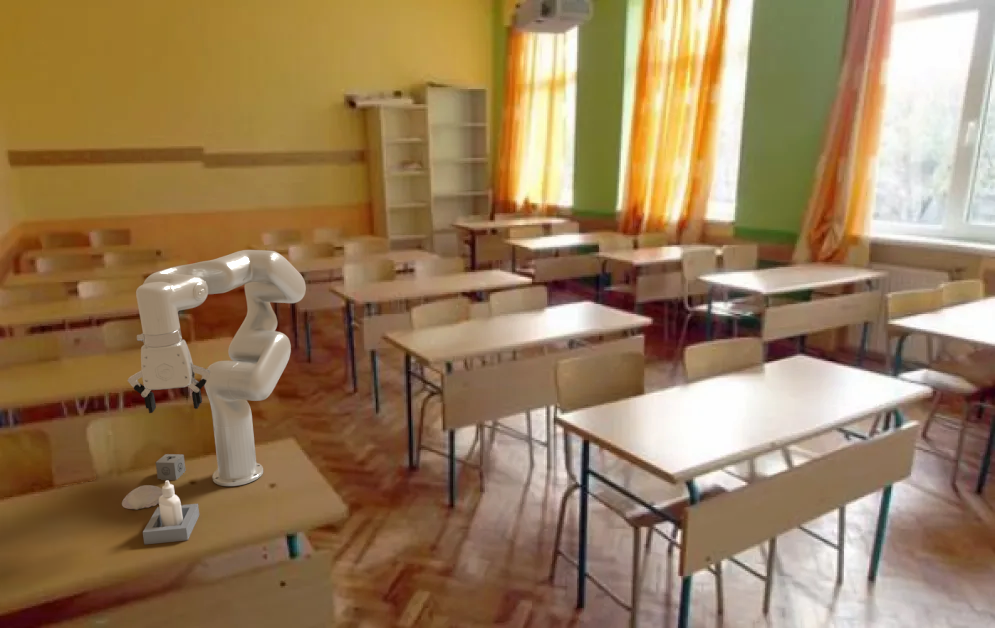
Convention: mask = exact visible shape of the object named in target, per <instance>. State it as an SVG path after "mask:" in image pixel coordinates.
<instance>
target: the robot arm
mask: <svg viewBox="0 0 995 628" xmlns="http://www.w3.org/2000/svg"><path fill="white" fill-rule="evenodd" d="M241 286H244V295H245V299H246V300H245V301H246V306H247V312H246V316H245V318H244V320H243V321H242V324H241V325H240V327H239V328H238V330H237V331H236V333H235V334H234V337H233V338H232V339H231V341H230V344H229V346H228V349H227V350H228V357H229V358H230V360H218V361H214V362H213V363H212V364H210V365H208V367H207V368H204V367H201V366H198V365H195V364H194V363H193V359H192V355H191V351H190V349H189V346H188V344H187V342H186V340H185V339H183V337H182V336H183V335H182V331H181V324H180V319H179V311H184V310H189V309H193V308H194V309H195V308H196V307H199V306H201V305H202V304H203V303H204V302H205V301H206V299H207V298H208V295H214V294H215V295H216V294H224V293H227V292H230V291H232V290H234V289H237V288H239V287H241ZM306 289H307V288H306V282H305V279H304V277H303V276H302V274H301V273H300V272H299V271H298V270H297V268H295V267H294V265H293V264H292V263H291V262H290V261H289V260H287V258H286V257H285V256H283V255H282V254H280V253H279V252H277V251H274V250H264V249H262V250H261V249H243V250H238V251H235V252H233V253H230V254H227V255H223V256H220V257H218V258H214V259H211V260H203V261H199V262H195V263H189V264H183V265H177V266H172V267H169V268H165V269H162V270H159V271H156V272H153V273H151V274H150V275H148V277H146V278H145V280H144V282H143V284H142V285H139V286H138V287H137V288H136V291H135V295H136V302H137V307H138V308H137V309H138V313H139V319H140V323H141V330H142V333H141V334H137V335H136V340H137V341H141V342H142V343H143V345H142V346H141V348H140V364H141V366H140V367H141V370H140V371H137V372H136V373H134V374H133V375H130V377H128V379H127V382H128V384H130V386H131V387H132V388H133V389H134V391H135V392H137V393H138V394H140V395H141V397H142V398H143V399H144V404H145V408H146V409H148V413H149V414H153V413H154V411H155V410H156V408H157V405H156V399H155V393H154V392H153V391H155V390H156V391H158V390H169V389H172V390H173V389H179V388H180V389H181V388H186V387H188V388H189V389H191V390H192V392H191V399H192V404H193V409H195V410H197V409H199V407H200V405H201V404H202V402H203V397H202V391H201V389H202V388H203V387H204V389H205V392H206V395H207V398H208V400H209V405H210V410H211V417H212V425H213V426H212V428H213V435H214V444H215V445H214V446H215V452H216V462H217V463H216V464H217V469H216V470H214V472H213V474H212V482H214V483H215V484H217V486H222V487H237V486H238V487H239V486H243V485H247V484H250V483H252V482H254V481H256V480H258V479H259V478H260V477H261V476H263V473H264V467H263V465H262V464H261V463H258V462H257V455H256V447H255V446H256V445H255V437H254V436H255V435H254V426H253V415H252V410H251V406H250V404H249V402H248V401H254V402H255V401H256V402H257V401H260V402H261V401H264V400H266V399H267V398H268V397H270V395H271V394H272V393H273V391H274V389H275V388H276V386H277V384H278V382H279V379H280V378H281V376H282V374H283V372H284V370H285V369H286V367H287V364H288V362H289V360H290V358H291V353H292V349H291V348H292V346H291V341H290V338H289V337H288V336H287V335H286V334H285V333H283V332H281V331H277V330H276V329H277V327H278V319H277V315H276V313H275V311H274V309H273V307H272V305H271V303H279V304H281V303H282V304H284V303H285V304H295V303H299V302H301V301H302V300H303V298H304V297H305V295H306V291H307V290H306ZM195 374H198V375H200V376H201V378H200V380H199V381H198V380H197V379H196V378H195V377H196V375H195ZM139 379H142V383H140V382H139Z"/></svg>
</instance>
